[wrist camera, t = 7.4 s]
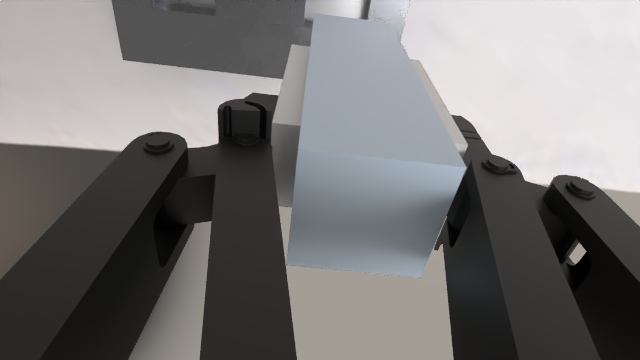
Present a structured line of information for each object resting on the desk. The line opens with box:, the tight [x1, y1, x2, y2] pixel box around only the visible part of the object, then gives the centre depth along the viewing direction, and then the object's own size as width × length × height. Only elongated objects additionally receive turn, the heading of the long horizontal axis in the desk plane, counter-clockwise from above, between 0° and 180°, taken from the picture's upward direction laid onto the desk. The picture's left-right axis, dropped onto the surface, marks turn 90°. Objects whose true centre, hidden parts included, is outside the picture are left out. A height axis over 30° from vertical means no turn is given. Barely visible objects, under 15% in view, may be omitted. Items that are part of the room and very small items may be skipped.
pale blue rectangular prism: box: [286, 13, 467, 278], centre depth 14 cm, size 4×4×12 cm
